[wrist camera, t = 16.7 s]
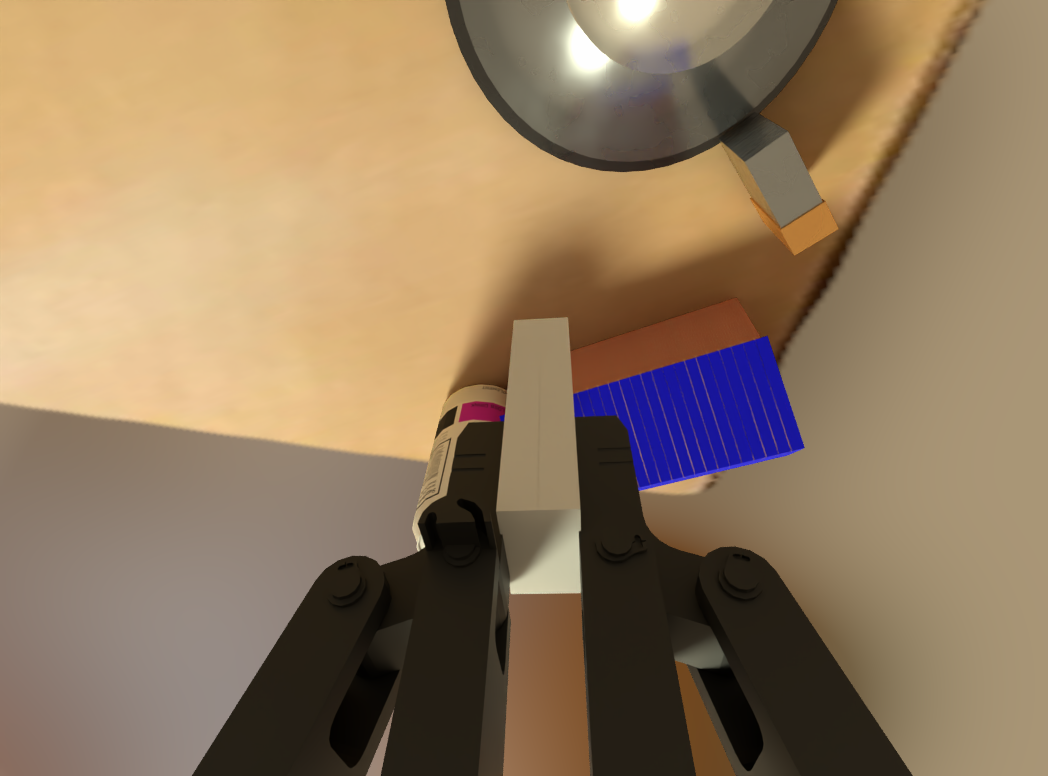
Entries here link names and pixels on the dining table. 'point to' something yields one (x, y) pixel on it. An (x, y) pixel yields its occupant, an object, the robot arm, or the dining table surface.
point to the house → (689, 394)
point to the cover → (665, 30)
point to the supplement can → (455, 439)
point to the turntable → (659, 100)
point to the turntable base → (579, 159)
